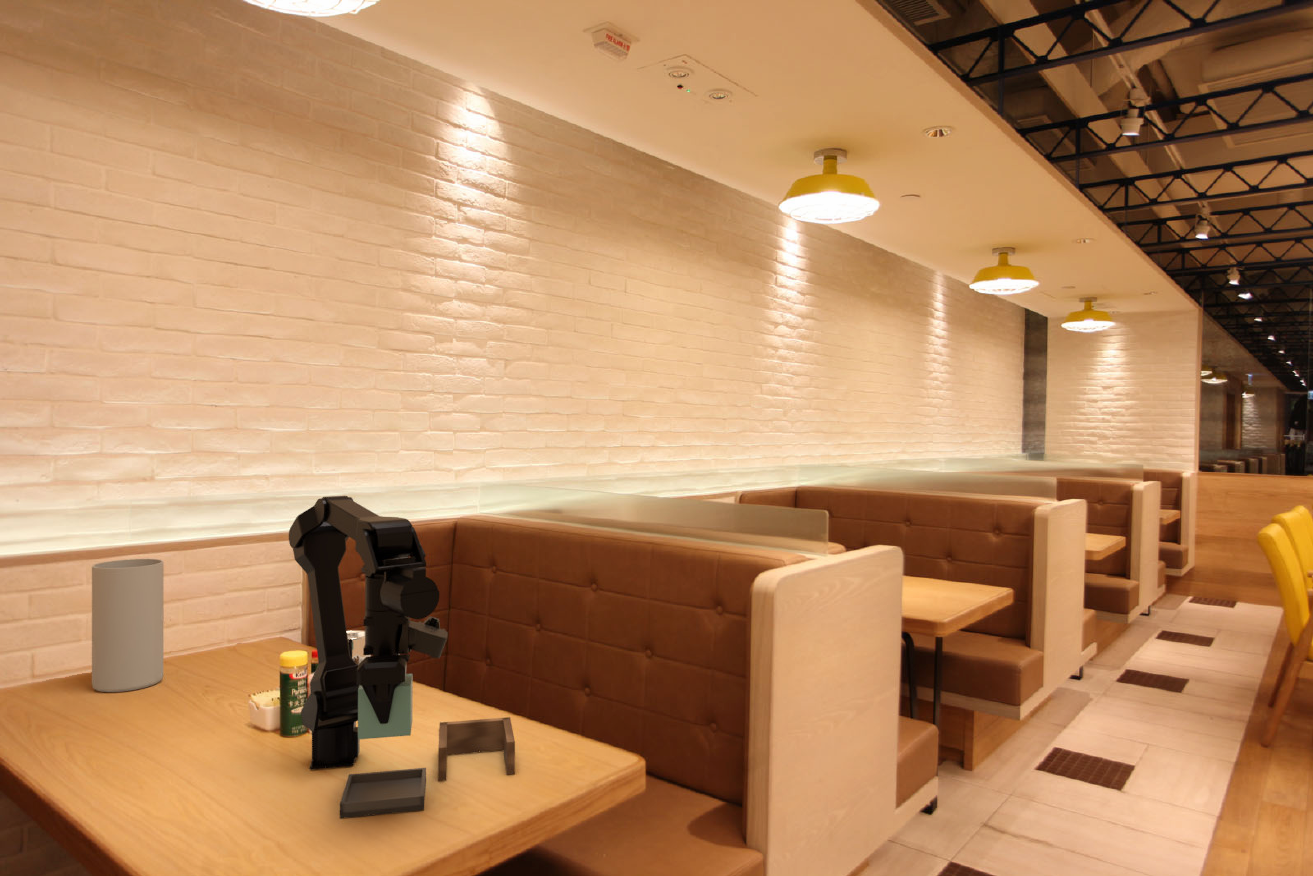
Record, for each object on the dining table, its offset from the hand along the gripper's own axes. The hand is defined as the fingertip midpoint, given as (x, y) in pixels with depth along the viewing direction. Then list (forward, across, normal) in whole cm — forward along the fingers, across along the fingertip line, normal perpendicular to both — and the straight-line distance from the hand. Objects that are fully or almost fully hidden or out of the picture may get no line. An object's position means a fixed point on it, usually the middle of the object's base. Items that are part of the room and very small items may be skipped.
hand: (385, 715), depth 119 cm
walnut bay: (+12, +10, -13) cm, 20 cm away
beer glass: (+12, +38, +9) cm, 41 cm away
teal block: (+2, 0, 0) cm, 2 cm away
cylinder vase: (+12, +68, +56) cm, 89 cm away
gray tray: (+12, 0, 0) cm, 12 cm away
